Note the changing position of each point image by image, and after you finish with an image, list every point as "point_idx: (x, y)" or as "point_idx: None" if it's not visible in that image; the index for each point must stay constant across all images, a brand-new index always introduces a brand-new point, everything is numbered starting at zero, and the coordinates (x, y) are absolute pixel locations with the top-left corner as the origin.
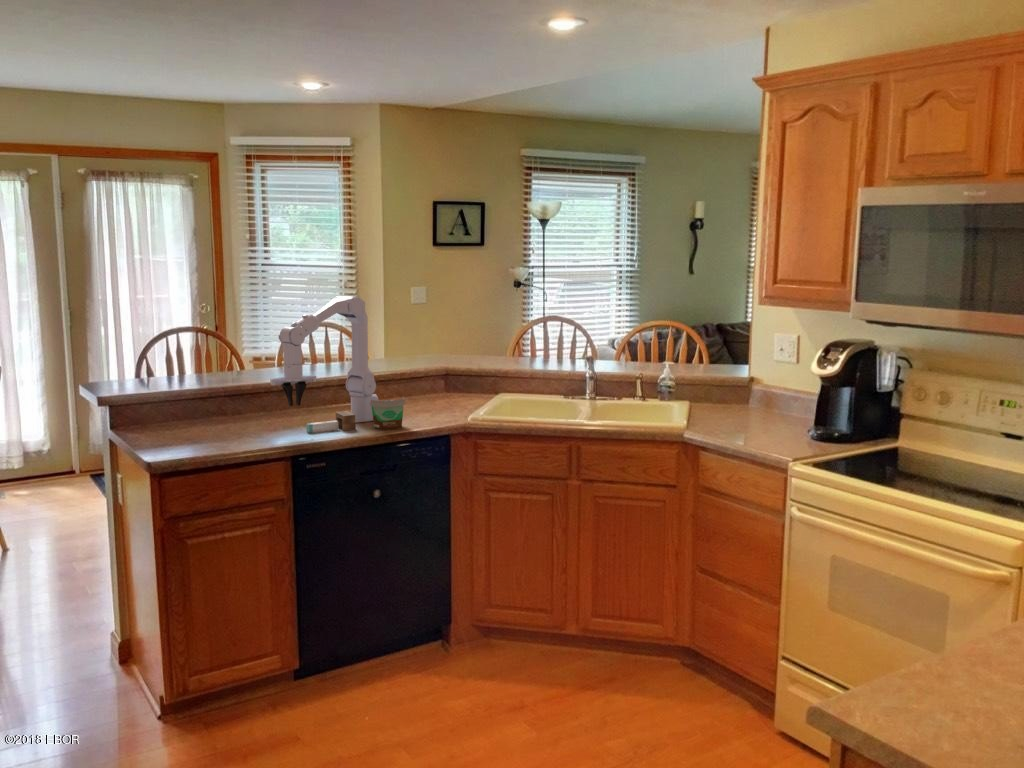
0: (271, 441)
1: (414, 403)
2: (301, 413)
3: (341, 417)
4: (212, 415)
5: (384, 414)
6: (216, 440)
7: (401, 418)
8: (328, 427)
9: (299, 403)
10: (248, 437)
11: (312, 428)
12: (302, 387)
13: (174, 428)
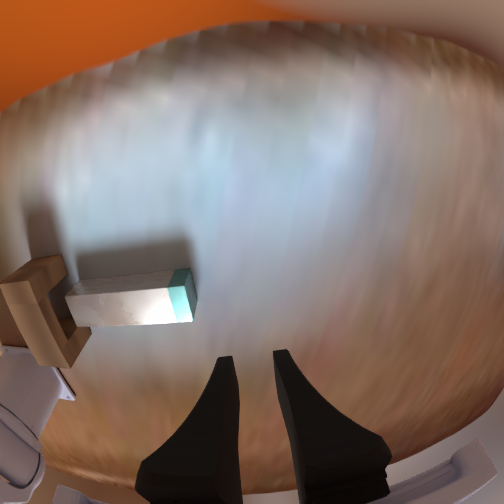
0: (371, 171)
1: None
2: None
3: (45, 302)
4: None
5: None
6: (478, 270)
7: None
8: (107, 283)
9: (223, 362)
10: (413, 279)
11: (171, 279)
12: (183, 459)
13: (460, 400)
